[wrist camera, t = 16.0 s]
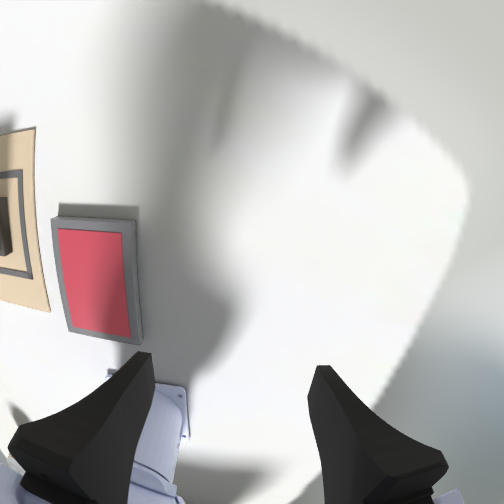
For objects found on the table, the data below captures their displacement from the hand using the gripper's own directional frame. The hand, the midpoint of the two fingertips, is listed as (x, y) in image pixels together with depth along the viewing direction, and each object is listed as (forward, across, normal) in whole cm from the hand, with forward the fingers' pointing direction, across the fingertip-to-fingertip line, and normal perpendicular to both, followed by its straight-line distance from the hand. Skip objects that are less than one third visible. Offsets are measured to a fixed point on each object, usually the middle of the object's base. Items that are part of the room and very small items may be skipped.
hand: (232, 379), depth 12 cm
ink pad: (+10, +11, +1) cm, 15 cm away
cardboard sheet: (+10, +23, -3) cm, 25 cm away
